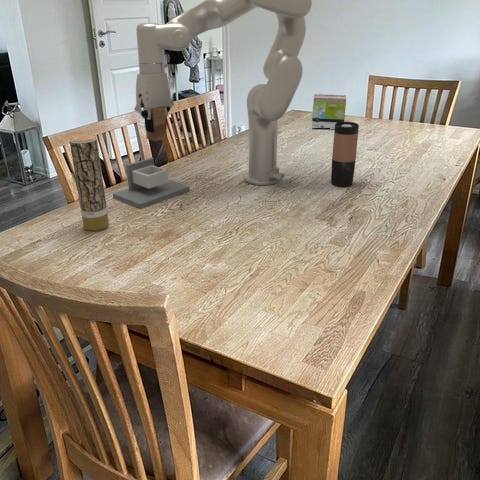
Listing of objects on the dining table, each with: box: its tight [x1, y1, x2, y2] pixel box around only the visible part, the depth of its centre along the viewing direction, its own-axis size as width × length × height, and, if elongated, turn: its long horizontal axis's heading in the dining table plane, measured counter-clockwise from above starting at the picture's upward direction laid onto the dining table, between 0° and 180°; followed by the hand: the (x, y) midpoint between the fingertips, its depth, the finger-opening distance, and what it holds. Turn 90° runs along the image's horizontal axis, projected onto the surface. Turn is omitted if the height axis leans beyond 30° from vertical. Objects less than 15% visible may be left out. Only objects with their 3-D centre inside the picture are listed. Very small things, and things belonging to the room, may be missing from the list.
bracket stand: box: [112, 157, 191, 210], centre depth 157 cm, size 14×20×10 cm
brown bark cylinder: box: [68, 133, 110, 232], centre depth 131 cm, size 7×7×25 cm
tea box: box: [311, 93, 347, 130], centre depth 233 cm, size 15×10×15 cm
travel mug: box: [330, 121, 360, 188], centre depth 161 cm, size 8×8×20 cm
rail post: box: [145, 106, 168, 142], centre depth 153 cm, size 4×4×10 cm
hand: (156, 129), depth 153 cm, fingers closed on rail post, 4 cm apart
